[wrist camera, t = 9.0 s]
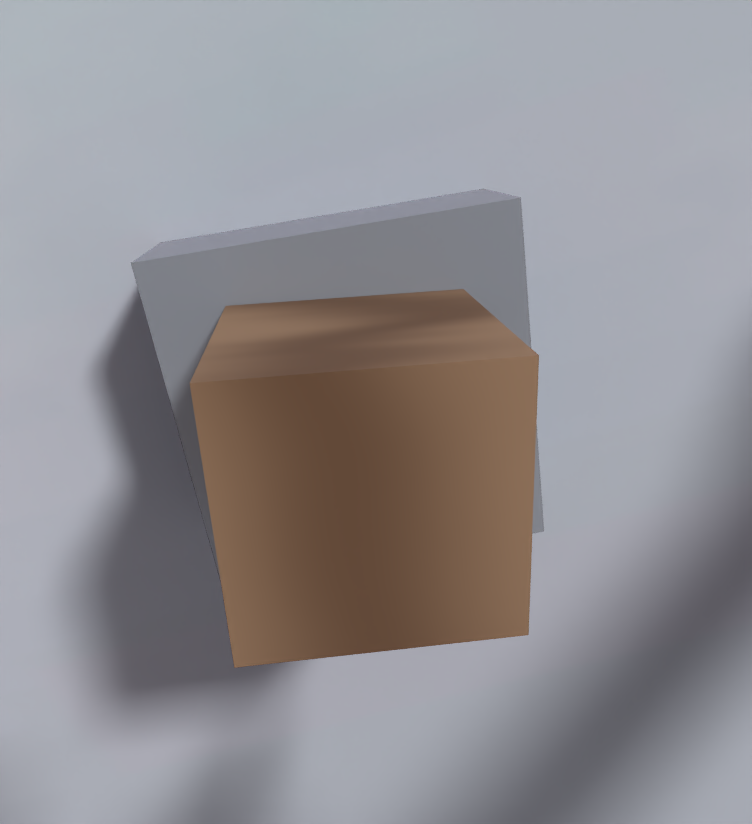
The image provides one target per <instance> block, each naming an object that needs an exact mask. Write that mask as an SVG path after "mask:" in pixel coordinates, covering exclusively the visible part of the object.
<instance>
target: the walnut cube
mask: <svg viewBox="0 0 752 824" xmlns="http://www.w3.org/2000/svg"><path fill="white" fill-rule="evenodd" d="M538 365H539V355H538V354H537V353H536V352H534V351H533V350H532V349H531V348H530V347H529V346H528V345H526V344H525V343H524V342H523V341H522V340H521V339H520V338H518V337H517V336H516V335H515V334H514V333H513V332H512V331H511V330H509V329H508V328H507V327H506V326H505V325H504V324H503V323H501V322H500V321H499V320H498V319H497V318H496V317H495V316H494V315H492V314H491V313H490V312H489V311H488V310H487V309H486V308H484V307H483V306H482V305H481V304H480V303H479V302H478V301H476V300H475V299H474V298H473V297H472V296H471V295H470V294H469V293H467V292H466V291H465V290H464V289H456V290H442V291H428V292H413V293H399V294H385V295H371V296H357V297H343V298H329V299H315V300H301V301H287V302H273V303H259V304H245V305H231V306H225V308H224V310H223V313H222V315H221V317H220V319H219V321H218V323H217V325H216V328H215V330H214V332H213V334H212V336H211V338H210V340H209V343H208V345H207V347H206V349H205V351H204V353H203V355H202V358H201V360H200V362H199V364H198V366H197V368H196V370H195V373H194V375H193V377H192V379H191V381H190V389H191V395H192V402H193V408H194V414H195V421H196V427H197V433H198V440H199V446H200V453H201V459H202V465H203V472H204V478H205V484H206V491H207V497H208V503H209V510H210V516H211V522H212V529H213V535H214V541H215V548H216V554H217V560H218V567H219V573H220V579H221V586H222V592H223V598H224V605H225V611H226V617H227V624H228V630H229V637H230V643H231V649H232V656H233V662H234V668H236V667H245V666H254V665H263V664H272V663H281V662H290V661H299V660H308V659H317V658H326V657H335V656H344V655H353V654H362V653H371V652H380V651H389V650H398V649H407V648H416V647H425V646H434V645H443V644H452V643H461V642H470V641H479V640H488V639H497V638H506V637H515V636H524V635H528V632H529V605H530V579H531V552H532V525H533V499H534V472H535V445H536V418H537V392H538Z"/></svg>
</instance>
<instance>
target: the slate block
mask: <svg viewBox="0 0 752 824" xmlns="http://www.w3.org/2000/svg"><path fill="white" fill-rule="evenodd" d="M131 265H132V269H133V272H134V276H135V279H136V283H137V286H138V290H139V293H140V297H141V301H142V304H143V308H144V311H145V315H146V318H147V322H148V325H149V329H150V333H151V336H152V340H153V343H154V347H155V350H156V354H157V357H158V361H159V364H160V368H161V372H162V375H163V379H164V382H165V386H166V389H167V393H168V396H169V400H170V404H171V407H172V411H173V414H174V418H175V421H176V425H177V428H178V432H179V436H180V439H181V443H182V446H183V450H184V453H185V457H186V460H187V464H188V468H189V471H190V475H191V478H192V482H193V485H194V489H195V492H196V496H197V499H198V503H199V507H200V510H201V514H202V517H203V521H204V524H205V528H206V531H207V535H208V539H209V542H210V546H211V549H212V553H213V556H214V560H215V563H216V567H217V571H218V574H219V578H220V573H219V567H218V560H217V554H216V548H215V541H214V535H213V529H212V522H211V516H210V510H209V503H208V497H207V491H206V484H205V478H204V472H203V465H202V459H201V453H200V446H199V440H198V433H197V427H196V421H195V414H194V408H193V402H192V395H191V389H190V381H191V379H192V377H193V375H194V373H195V370H196V368H197V366H198V364H199V362H200V360H201V358H202V355H203V353H204V351H205V349H206V347H207V345H208V343H209V340H210V338H211V336H212V334H213V332H214V330H215V328H216V325H217V323H218V321H219V319H220V317H221V315H222V313H223V310H224V308H225V306H231V305H245V304H259V303H273V302H287V301H301V300H315V299H329V298H343V297H357V296H371V295H385V294H399V293H413V292H428V291H442V290H456V289H464V290H465V291H466V292H467V293H469V294H470V295H471V296H472V297H473V298H474V299H475V300H476V301H478V302H479V303H480V304H481V305H482V306H483V307H484V308H486V309H487V310H488V311H489V312H490V313H491V314H492V315H494V316H495V317H496V318H497V319H498V320H499V321H500V322H501V323H503V324H504V325H505V326H506V327H507V328H508V329H509V330H511V331H512V332H513V333H514V334H515V335H516V336H517V337H518V338H520V339H521V340H522V341H523V342H524V343H525V344H526V345H528V346H529V347H530V348H531V338H530V323H529V309H528V294H527V280H526V266H525V251H524V237H523V223H522V208H521V197H516V196H512V195H508V194H504V193H499V192H495V191H491V190H487V189H479V190H473V191H467V192H461V193H455V194H449V195H443V196H437V197H431V198H425V199H419V200H413V201H407V202H401V203H395V204H389V205H383V206H377V207H371V208H365V209H359V210H353V211H347V212H341V213H335V214H329V215H323V216H317V217H311V218H305V219H299V220H293V221H287V222H281V223H275V224H269V225H263V226H257V227H251V228H245V229H239V230H233V231H227V232H221V233H215V234H209V235H203V236H197V237H191V238H185V239H179V240H173V241H167V242H161V243H159V244H158V245H157V246H155V247H154V248H152V249H151V250H149V251H148V252H146V253H145V254H143V255H142V256H140V257H139V258H137V259H136V260H134V261H133V262H131ZM543 531H544V525H543V510H542V496H541V481H540V467H539V453H538V438H537V424H536V445H535V472H534V499H533V525H532V533H537V532H543ZM220 581H221V579H220Z"/></svg>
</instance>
